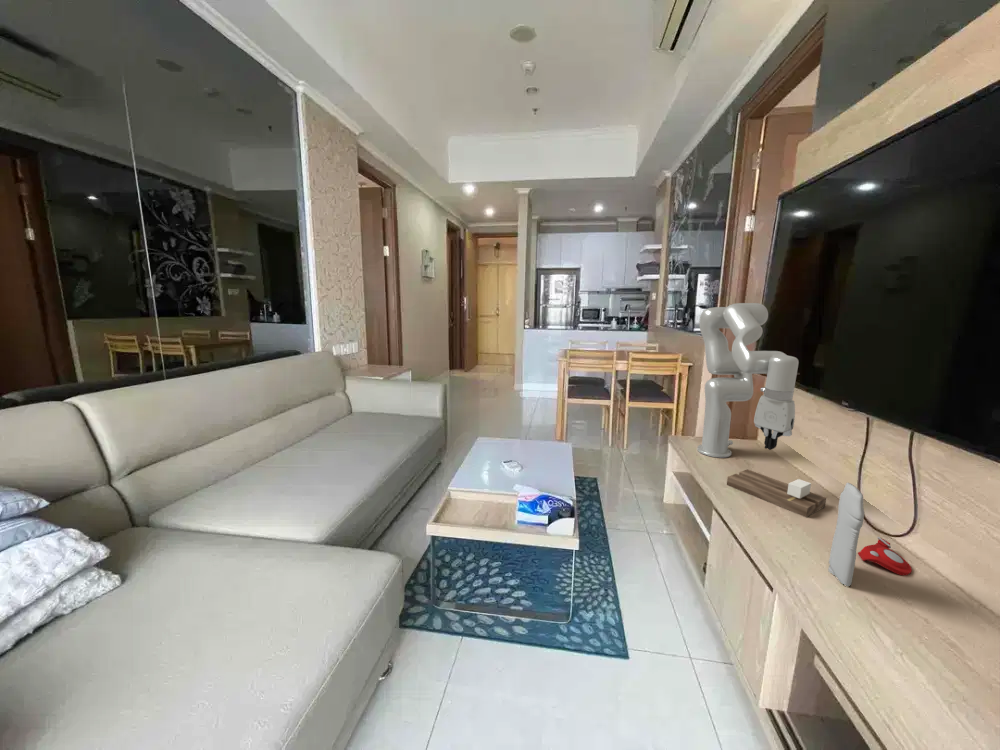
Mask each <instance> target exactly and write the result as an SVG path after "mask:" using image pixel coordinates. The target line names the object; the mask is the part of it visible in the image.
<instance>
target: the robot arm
mask: <svg viewBox="0 0 1000 750" xmlns="http://www.w3.org/2000/svg"><path fill="white" fill-rule="evenodd" d="M768 319H769V312H768V309H767V307H766V306H765V305H764V304H762V303H758V302H739V303H738V302H737V303H732V304H730V305H728V306H715V307H709V308H706V309H704V310H703V311H702V312H701V313H700V316H699V323H698V324H699V330H700V333H701V336H702V339H703V343H704V352H705V353H704V355H705V362H706V369H707V371H708V373H710V374H711V375H721V376H723V375H724V376H725V375H727V376H731V375H733V377H712V378H710V379H707V381H706V382H705V384H704V396H705V397H704V398H705V401H704V403H705V407H704V419H703V428H702V438H701V444H699V445H697V447H696V448H697V451H698V452H699V453H700V454H703V455H704V456H708V457H711V458H712V457H713V458H719V459H720V458H721V459H722V458H723V459H725V458H729V457H731V456H732V451H731V449H729V446H731V445H733V444H734V443H733V441H732V440H731V439H730V438H729V437H730V431H731V430H730V429H731V420H732V410H731V408H730V407H729V405H728V404H727V402H746V401H750V400H751V399H752V397H753V395H754V379H753V374H755V375H757V374H760V375H761V374H765V375H766V380H765V386H764V387H761V388H760V392H763V395H761V396H760V398H759V399H758V402H757V405H756V408H755V413H754V417H753V423H754V426H755V428H758V429H760V430H761V432H762V433H763V436H764V437H765V438H764V442H763V444H764V449H766V450H767V449H768V450H769V451H771V450H774V449H775V448H776V447H777V445H778V441H779V439H778V438H780V437H783V436H784V437H791V436H792V435H793V431H792V430H793V429H794V425H795V421H796V420H795V419H796V404H795V400H793V398H794V392H795V386H796V380H797V374H798V368H799V363H800V362H799V359H798V358H797V357H795V356H792V355H787V354H786V353H784V352H783V351H778V350H750V349H748V347H747V346H749V345H751V344H753V343H756V342H757V341H758V340H759V339H760V338H761V337H762V335H763V327H762V326H763V325H764V324H765V323H766V322H767V321H768ZM720 329H729V330H730V331H731V332H732V334H733V336H734V337H735V338H734V339H733V342H732V345H731V351H730V349H729V340H728V339H727V337H726V336H725V334H724V333H723V332H722V331H721V330H720Z"/></svg>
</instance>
